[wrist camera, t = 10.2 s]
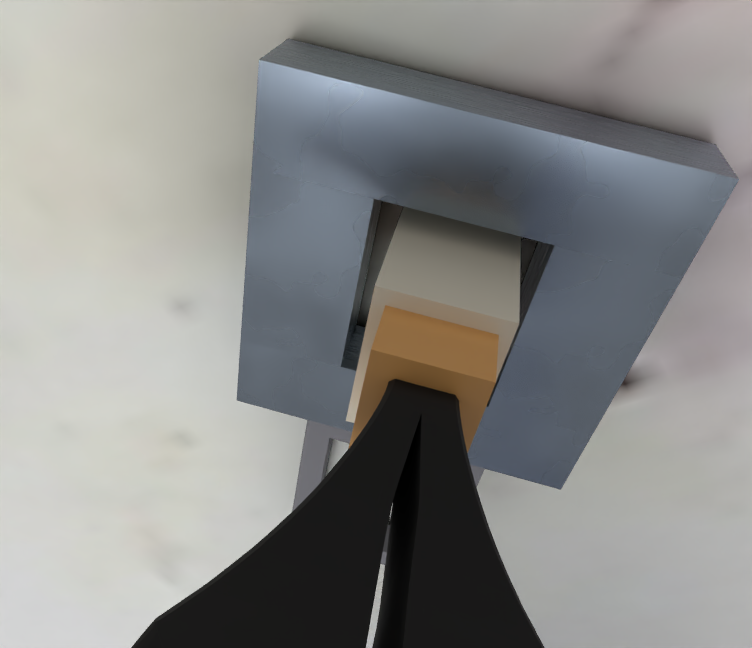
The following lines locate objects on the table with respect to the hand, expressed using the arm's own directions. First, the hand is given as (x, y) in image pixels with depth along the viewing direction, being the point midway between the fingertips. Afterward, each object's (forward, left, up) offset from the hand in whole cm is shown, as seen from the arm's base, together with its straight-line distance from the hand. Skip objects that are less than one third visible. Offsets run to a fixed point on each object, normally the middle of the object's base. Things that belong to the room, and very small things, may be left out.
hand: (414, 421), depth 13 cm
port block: (0, 0, -6) cm, 6 cm away
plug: (0, 0, -6) cm, 6 cm away
